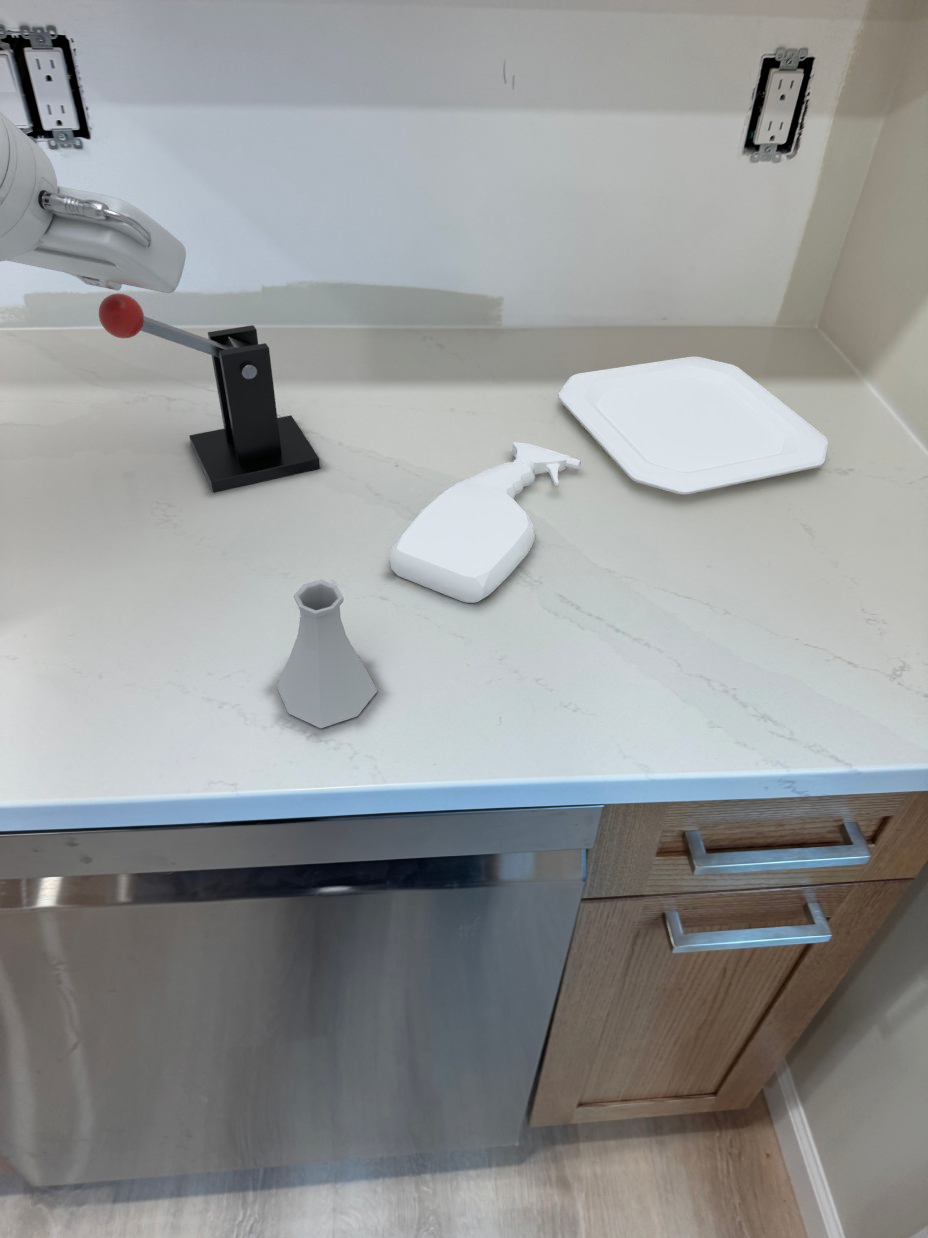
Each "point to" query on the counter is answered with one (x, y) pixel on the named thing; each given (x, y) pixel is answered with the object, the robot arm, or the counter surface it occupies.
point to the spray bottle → (475, 528)
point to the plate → (691, 424)
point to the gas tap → (249, 421)
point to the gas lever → (152, 326)
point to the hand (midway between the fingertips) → (107, 278)
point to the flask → (323, 662)
